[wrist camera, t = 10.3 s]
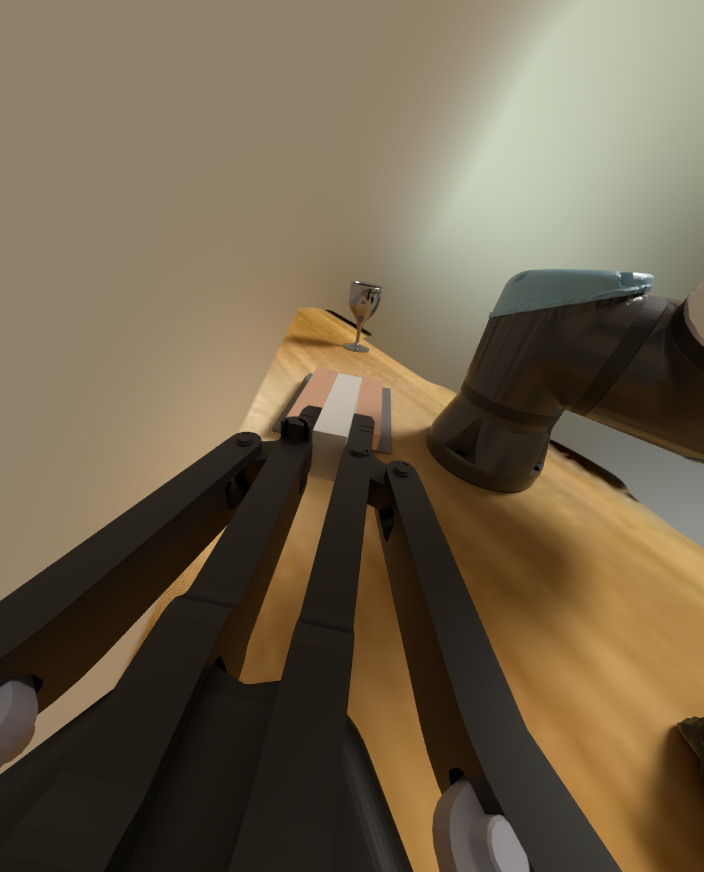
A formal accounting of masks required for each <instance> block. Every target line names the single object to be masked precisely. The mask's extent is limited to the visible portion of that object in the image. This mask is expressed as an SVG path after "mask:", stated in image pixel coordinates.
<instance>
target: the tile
mask: <svg viewBox="0 0 704 872" xmlns="http://www.w3.org/2000/svg"><path fill="white" fill-rule="evenodd" d="M338 373H341V374H346V375H351V376H357V377H362V381H361V387H360V392H359V398H358V404H357V409H356V414H361V415H366V416H372V418H373V420H374V421H375V426H374V435H373V443H372V450H377V447H378V443H379V439H380V435H381V413H382V389H383V380H380V379H374V378H369V377H364V376H359V375H354V374H349V373H343V372H338V371H333V370H328V369H323V368H318V367H317V369H316V370H315V372H314V374H313V375H312V377H311V378H310V380H309V382H308V383H307V385H306V386H305V388H304V389H303V391H302V393H301V394H300V396H299V397H298V399H297V401H296V402H295V404H294V405H293V407H292V409H291V410H290V412H289V413H288V415H287V417H291V416H299V415H300V413H301V411H302V409H303V408H305V407H307V406H308V405H311V406H316V407H322V408H323V407H324V404H325V402H326V400H327V398H328V396H329V393H330V391H331V389H332V387H333V384H334V382H335V380H336V378H337V376H338ZM287 417H286V418H287Z"/></svg>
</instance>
